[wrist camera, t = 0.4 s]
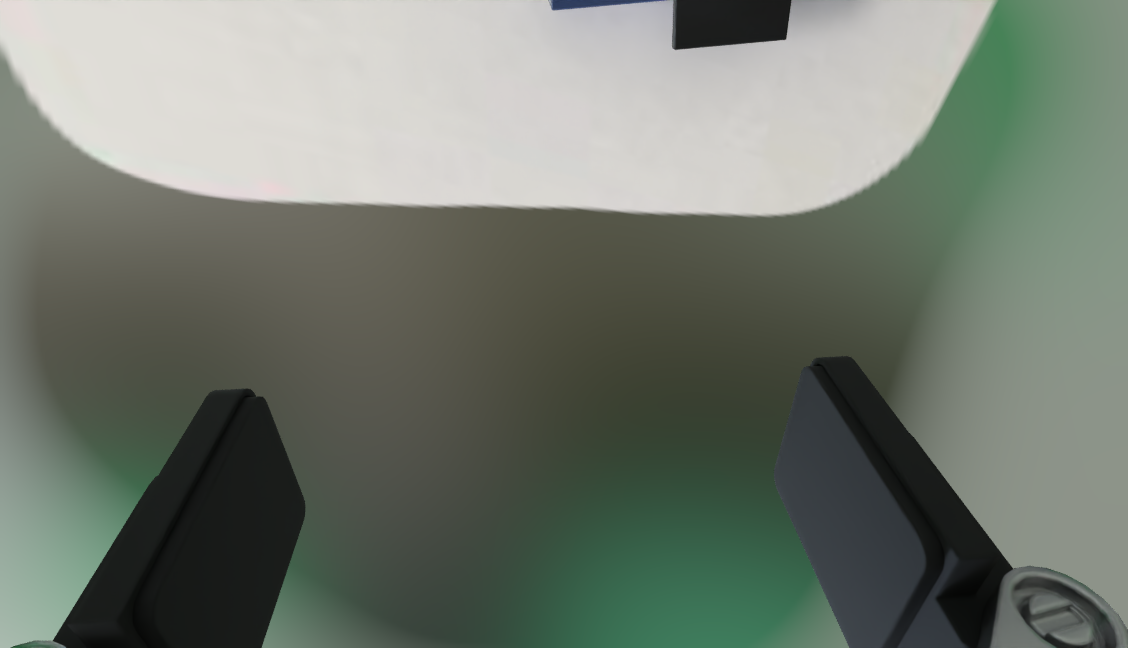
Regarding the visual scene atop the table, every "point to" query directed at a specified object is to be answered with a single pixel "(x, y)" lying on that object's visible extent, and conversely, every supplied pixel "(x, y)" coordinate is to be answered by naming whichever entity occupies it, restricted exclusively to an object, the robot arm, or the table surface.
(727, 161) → the table surface
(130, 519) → the robot arm
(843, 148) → the table surface
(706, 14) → the roasting pan
